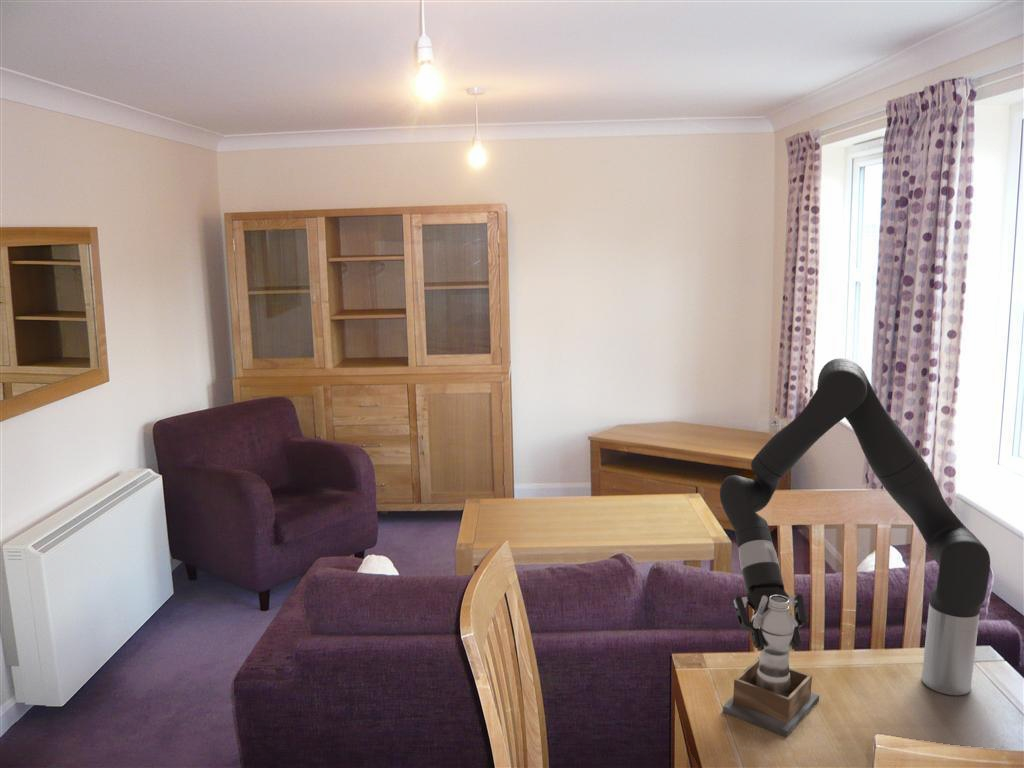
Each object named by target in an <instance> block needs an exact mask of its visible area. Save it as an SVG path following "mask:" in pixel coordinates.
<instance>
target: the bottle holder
mask: <svg viewBox="0 0 1024 768" xmlns="http://www.w3.org/2000/svg"><path fill="white" fill-rule="evenodd" d="M759 660H760V656H758V657H757V658H756V659H755V660H754V661H753V662H752V663H751V664H750V665H748V667H746V668H745V669H744V670H743V671H742V672H741V673H740V674H738V675H737V676H736V677H735V678H734V680H733V696H732V697H731V698H730V699H729V700H728V701H727V702H726V703H725V704H724V705H723V706H722V712H724V713H726V714H728V715H731V716H733V717H735V718H738V719H740V720H743V721H745V722H747V723H751V724H754V725H755V726H758V727H760V728H764V729H765V730H768V731H770V732H773V733H776V734H778V735H780V736H783V737H786V738H787V737H788V736H789V735H790V734H791V733H792V732H793V731H794V730H795V728H797V726H798V725H799V724H800V723H799V722H801V721H803V720H804V718H805V717H806V716H807V715H808V714H809V713H810V711H811V710H812V709H813V708H814V707H815V706H816V705H817V704H818V702H819V701H820V694H818V693H815V692H812V684H813V683H812V682H813V681H812V680H813V675H811V674H808V673H805V672H804V671H803V672H802V671H800V670H797V669H794V668H790V667H789V672H790V678H791V685H790V689H789V691H788V692H787V693H786V694H785V695H784V696H782V695H779V694H777V693H774V692H771V691H769V690H766V689H763V688H761V687H758V686H757V685H756V673H757V669H758V667H759ZM798 723H799V724H798ZM791 731H792V732H791Z"/></svg>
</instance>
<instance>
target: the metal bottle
mask: <svg viewBox="0 0 1024 768" xmlns="http://www.w3.org/2000/svg"><path fill="white" fill-rule="evenodd" d="M768 608H769V609H768V610H767V611H766V612H765V613H764V614H763V615H762V616H761V618H760V622H759V623H760V625H759V629H761V634H762V638H763V643H764V649H763V650H762V651H760V655H759V657H760V660H759V667H758V669H757V673H756V685H757V686H758V687H761V688H763V689H766V690H769V691H771V692H774V693H777V694H779V695H782V696H784V695H785V694H786V693H787V692H788V691H789V689H790V685H791V678H790V672H789V668H790V655H791V654H790V651H791V641H792V637H793V632H794V622H793V620H792V618H791V616H790V614H789V613H788V612H787V611H788V610H790V602H789V599H788V598H787V597H785V596H781V595H772V596H770V597H769V603H768Z"/></svg>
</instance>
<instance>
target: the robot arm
mask: <svg viewBox="0 0 1024 768" xmlns="http://www.w3.org/2000/svg"><path fill="white" fill-rule="evenodd" d="M821 368H822V369H820V372H819V374H818V378H817V386H816V390H815V391H814V394H813V395H812V396H811V399H810V400H809V401H808V403H807V404H806V406H805V407H804V409H802V411H801V412H800V413H799V414H798V415H797V416H796V417H795V418H794V419H793V420H792V421H791V422H790V423H788V424H787V425H786V426H784V427H783V428H781V429H780V430H779V431H778V432H776V433H775V435H774V436H772V437H771V438H770V439H769V440H768V441H767V442H766V444H764V446H763V447H762V448H761V449H760V450H759V451H758V453H756V455H755V456H754V457H753V459H752V460H751V463H750V467H751V470H752V472H753V473H754V477H752V478H747V477H743V476H740V475H736V474H735V475H734V474H733V475H728V476H726V477H725V478H724V479H723V481H722V483H721V484H720V487H719V499H720V503H721V505H722V508H723V511H724V513H725V515H726V517H727V519H728V521H729V522H730V524H731V527H732V528H733V530H734V533H735V540H736V543H737V549H738V558H739V566H740V569H741V572H742V573H741V574H742V578H743V583H744V588H745V591H746V596H744V597H741V596H739V595H738V596H736V597H735V598H734V600H733V601H732V606H733V609H734V611H735V615H736V618H737V622H738V625H739V627H740V629H741V630H747V631H748V632H750V634H751V639H752V643H753V647H754V649H757V652H758V651H759V652H761V651H762V650H763V649H764V643H763V638H762V634H761V629H760V626H759V625H760V623H759V622H760V618H761V616H762V615H763V614H764V613H765V612H766V611H767V610H768V609H769V608H768V603H769V597H770V596H772V595H781V596H785V597H787V598H788V599H789V605H790V606H791V607H793V612H794V613H793V614H794V616H793V615H792V611H790V609H789V610H788V611H787V612H788V613H789V614H790V616H791V618H792V620H793V622H794V632H793V637H792V641H791V646H790V648H791V649H792V650H797V649H799V648H800V645H801V643H802V642H801V637H800V633H799V628H801V627H802V626H803V625H804V624H806V623H807V619H806V612H805V605H804V598H803V595H802V594H801V593H799V594H797V595H789V594H788V592H787V591H786V590H785V584H784V580H783V576H782V571H781V568H780V564H779V559H778V555H777V552H776V549H775V546H774V544H773V539H772V536H771V531H770V527H769V525H768V524H769V523H768V522H767V520H766V519H765V518H764V517H762V516H761V515H759V514H758V512H760V511H762V510H763V509H765V508H766V506H767V505H769V503H770V501H771V499H772V497H773V495H774V494H775V492H776V490H777V487H778V485H779V483H780V481H781V479H782V478H783V477H785V476H786V474H787V473H788V472H789V471H790V470H791V469H792V468H793V467H794V466H795V465H796V464H797V462H799V460H800V459H801V458H802V457H803V456H804V455H805V454H806V453H807V452H808V451H809V449H810V448H812V446H813V445H814V444H815V443H817V441H818V440H820V438H822V437H823V435H825V434H826V433H827V432H828V431H830V430H831V429H832V428H833V427H835V425H837V424H838V423H840V421H842V420H843V419H846V421H847V422H848V424H849V425H850V427H851V428H852V430H853V432H854V433H855V435H856V439H857V441H858V443H859V445H860V447H861V450H862V452H863V455H864V456H865V459H866V461H867V463H868V464H869V466H870V469H871V470H872V471H873V473H874V475H875V476H876V477H877V479H878V481H880V483H881V484H882V487H884V489H885V491H886V492H887V493H888V494H889V496H890V497H891V498H892V499H893V500H894V501H895V502H896V504H897V505H898V506H899V507H900V508H901V509H902V510H903V511H904V512H905V513H906V514H907V515H908V516H909V517H910V518H911V520H912V521H913V523H914V524H915V526H916V528H917V530H918V531H919V532H920V534H921V537H922V538H923V541H924V542H925V545H926V546H927V547H928V549H929V552H930V555H931V556H932V558H933V559H934V561H935V563H936V564H937V565H938V566H939V567H938V575H937V582H936V583H937V584H936V586H935V587H933V588H932V589H931V591H930V594H929V603H928V611H927V621H926V622H927V623H926V633H925V642H924V643H925V644H924V650H923V652H924V653H923V661H922V671H921V681H922V683H923V684H924V685H925V686H926V687H928V688H929V689H930V690H933V691H935V692H938V693H939V694H944V695H948V696H964V695H967V694H969V693H970V692H971V690H972V680H973V673H974V667H975V666H974V664H975V657H976V656H975V655H976V647H977V641H978V640H977V638H978V631H979V621H980V614H981V608H982V605H983V604H984V601H985V600H986V597H987V590H988V584H989V580H990V579H989V577H990V573H991V572H990V570H991V557H990V553H989V551H988V548H987V547H986V546H985V545H984V544H983V543H982V542H981V541H980V540H979V539H978V537H977V536H976V535H975V534H974V533H973V532H972V531H970V529H969V528H968V527H966V525H965V524H964V523H963V521H961V520H960V519H959V517H957V515H956V514H955V513H954V511H953V510H952V509H951V508H950V506H949V504H948V503H947V502H946V501H945V499H944V497H943V495H942V492H941V490H940V488H939V485H938V482H937V481H936V480H937V479H936V478H935V476H934V474H933V472H932V471H931V469H930V467H929V466H928V465H927V463H926V461H925V460H924V458H923V457H922V455H921V454H920V453H919V452H918V451H919V450H917V448H916V447H915V446H914V444H913V443H912V442H911V441H910V439H909V438H908V437H907V435H906V434H905V432H903V430H902V429H901V428H900V426H899V425H898V424H897V423H896V422H895V420H894V419H893V418H892V417H891V416H890V414H889V413H888V411H887V410H886V409H885V407H884V406H883V404H882V403H881V401H880V399H879V397H878V395H877V394H876V392H875V390H874V388H873V387H872V385H871V383H870V380H869V378H868V376H867V375H866V373H865V370H863V368H862V367H861V366H860V365H859V364H858V363H856V362H855V361H853V360H850V359H847V358H835V359H831V360H829V361H827V362H826V363H825V365H823V366H822V367H821ZM747 605H748V606H749V607H750V608H751V609H752V610H753V614H752V616H751V621H750V620H749V617H748V613H747V610H746V607H747Z"/></svg>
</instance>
